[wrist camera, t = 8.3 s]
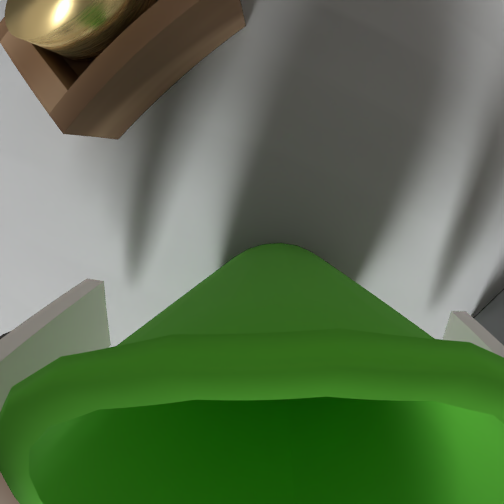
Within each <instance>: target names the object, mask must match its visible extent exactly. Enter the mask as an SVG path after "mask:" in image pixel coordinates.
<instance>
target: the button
mask: <svg viewBox="0 0 504 504" xmlns="http://www.w3.org/2000/svg"><path fill="white" fill-rule="evenodd" d="M156 1H157V0H7V4H6V9H5V22H6V26H7V28H8V30H9V32H10V33H11V34H12V35H13V36H15V37H17V38H19V39H22V40H25V41H27V42H30V43H33V44H35V45H38V46H40V47H43V48H45V49H48V50H50V51H53V52H55V53H58V54H60V55H62V56H65V57H67V58H70V59H72V60H77V61H88V60H94V59H96V58H97V57H98V56H99V55H100V54H101V53H102V52H103V51H104V50H105V49H106V48H107V47H108V46H109V45H110V44H111V43H112V42H113V41H114V40H115V39H116V38H117V37H118V36H119V35H120V34H121V33H122V32H123V31H124V30H125V29H126V28H127V27H129V26H130V25H131V24H132V23H133V22H134V21H135V20H136V19H137V18H139V17H140V16H141V15H142V14H143V13H144V12H146V11H147V10H148V9H149V8H150V7H152V6H153V5H154V4H155V3H156Z"/></svg>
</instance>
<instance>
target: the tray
mask: <svg viewBox="0 0 504 504" xmlns="http://www.w3.org/2000/svg"><path fill="white" fill-rule="evenodd" d="M474 319H475V320H476V321H477V322H478V323H479V324H481V325H482V326H483V327H484V328H485V329H486V330H487V331H488V332H489V333H491V334H492V335H493V336H494V337H495V338H496V339H497V340H498V341H499V342H500V343H501V344H502V345H503V346H504V290H503V291H502V292H501V293H500V294H499V295H498V296H497V297H496V298H495V299H494V300H493V301H492V302H490V303H489V304H488V305H487V306H486V307H485V308H484V309H483V310H482V311H481V312H480V313H479V314H478V315H477V316H476V317H475V318H474Z"/></svg>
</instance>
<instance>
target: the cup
mask: <svg viewBox="0 0 504 504" xmlns="http://www.w3.org/2000/svg"><path fill="white" fill-rule="evenodd" d="M0 472H1V473H2V475H3V477H4V479H5V481H6V483H7V485H8V486H9V488H10V490H11V492H12V493H13V495H14V497H15V498H16V499H17V500H18V502H19V503H20V504H504V357H502V356H499V355H497V354H495V353H493V352H490V351H488V350H486V349H484V348H482V347H479V346H477V345H475V344H473V343H470V342H463V341H451V340H439V339H434V338H433V337H431V336H430V335H429V334H427V333H426V332H425V331H423V330H422V329H420V328H419V327H418V326H416V325H415V324H414V323H412V322H411V321H409V320H408V319H407V318H405V317H404V316H402V315H401V314H400V313H398V312H397V311H396V310H394V309H393V308H391V307H390V306H389V305H387V304H386V303H384V302H383V301H381V300H380V299H379V298H377V297H376V296H374V295H373V294H372V293H370V292H369V291H367V290H366V289H364V288H363V287H362V286H360V285H359V284H357V283H356V282H354V281H353V280H352V279H350V278H349V277H347V276H346V275H344V274H343V273H342V272H340V271H339V270H337V269H336V268H334V267H333V266H331V265H330V264H328V263H327V262H326V261H324V260H323V259H321V258H320V257H318V256H317V255H315V254H314V253H312V252H310V251H308V250H305V249H303V248H301V247H299V246H295V245H289V244H284V243H274V244H263V245H260V246H256V247H253V248H250V249H248V250H246V251H244V252H242V253H241V254H239V255H237V256H236V257H234V258H233V259H231V260H230V261H229V262H227V263H226V264H225V265H223V266H222V267H221V268H219V269H218V270H217V271H215V272H214V273H213V274H211V275H210V276H209V277H207V278H206V279H205V280H203V281H202V282H201V283H199V284H198V285H197V286H195V287H194V288H193V289H191V290H190V291H189V292H187V293H186V294H185V295H183V296H182V297H181V298H179V299H178V300H177V301H175V302H174V303H173V304H171V305H170V306H169V307H167V308H166V309H165V310H163V311H162V312H161V313H160V314H158V315H157V316H156V317H154V318H153V319H152V320H150V321H149V322H148V323H146V324H145V325H144V326H142V327H141V328H140V329H138V330H137V331H136V332H134V333H133V334H132V335H130V336H129V337H128V338H126V339H125V340H124V341H122V342H121V343H120V344H118V345H117V346H115V347H110V348H105V349H100V350H94V351H89V352H84V353H78V354H73V355H67V356H61V357H59V358H58V359H56V360H54V361H53V362H51V363H50V364H48V365H46V366H45V367H43V368H41V369H40V370H38V371H37V372H35V373H33V374H32V375H30V376H29V377H27V378H25V379H24V380H22V381H21V382H19V383H17V384H16V385H14V386H13V387H11V389H10V391H9V394H8V396H7V398H6V400H5V402H4V404H3V407H2V409H1V411H0Z"/></svg>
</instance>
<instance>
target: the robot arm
mask: <svg viewBox="0 0 504 504" xmlns="http://www.w3.org/2000/svg"><path fill="white" fill-rule="evenodd" d="M442 340H451V341H463V342H470V343H473V344H475V345H477V346H479V347H482V348H484V349H486V350H488V351H490V352H493V353H495V354H497V355H499V356H502V357H504V346H503V345H502V344H501V343H500V342H499V341H498V340H497V339H496V338H495V337H494V336H493V335H492V334H491V333H489V332H488V331H487V330H486V329H485V328H484V327H483V326H482V325H481V324H479V323H478V322H477V321H476V320H475V319H474V318H473V317H472V316H470V315H469V314H468V313H467V312H464V311H451V314H450V317H449V321H448V324H447V327H446V330H445V333H444V336H443V339H442ZM110 345H111V344H110V336H109V328H108V320H107V311H106V301H105V290H104V281H100V280H93V279H86V280H84V281H83V282H81V283H80V284H78V285H77V286H75V287H74V288H72V289H71V290H69V291H68V292H66V293H65V294H63V295H62V296H60V297H59V298H57V299H56V300H55V301H53V302H52V303H50V304H49V305H47V306H46V307H44V308H43V309H42V310H40V311H39V312H37V313H36V314H34V315H33V316H32V317H30V318H29V319H27V320H26V321H25V322H23V323H22V324H21V325H19V326H18V327H16V328H15V329H14V330H12V331H10V332H8V333H5V334H3V335H2V336H0V411H1V409H2V407H3V404H4V402H5V400H6V398H7V396H8V394H9V391H10V389H11V387H13V386H14V385H16V384H17V383H19V382H21V381H22V380H24V379H25V378H27V377H29V376H30V375H32V374H33V373H35V372H37V371H38V370H40V369H41V368H43V367H45V366H46V365H48V364H50V363H51V362H53V361H54V360H56V359H58V358H59V357H61V356H67V355H73V354H78V353H84V352H89V351H94V350H100V349H105V348H108V347H109V346H110Z"/></svg>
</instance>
